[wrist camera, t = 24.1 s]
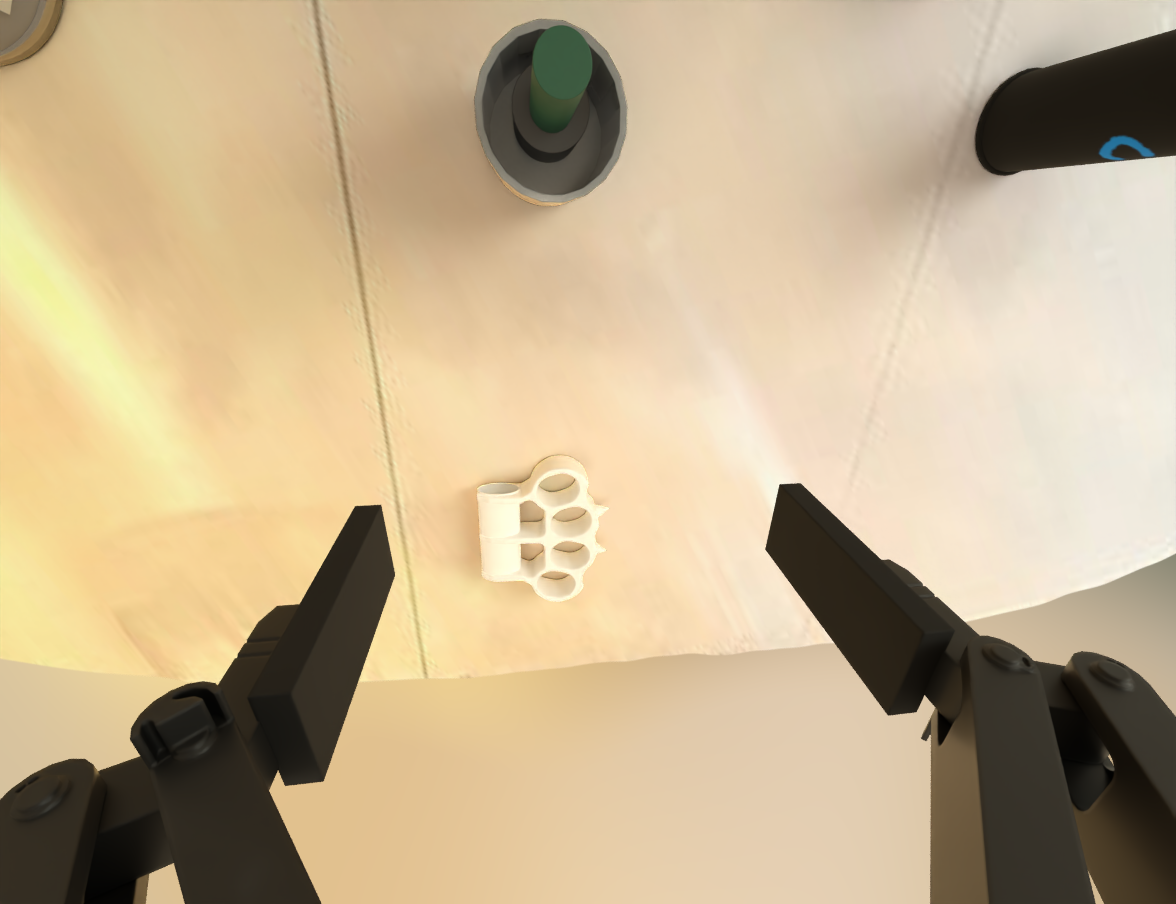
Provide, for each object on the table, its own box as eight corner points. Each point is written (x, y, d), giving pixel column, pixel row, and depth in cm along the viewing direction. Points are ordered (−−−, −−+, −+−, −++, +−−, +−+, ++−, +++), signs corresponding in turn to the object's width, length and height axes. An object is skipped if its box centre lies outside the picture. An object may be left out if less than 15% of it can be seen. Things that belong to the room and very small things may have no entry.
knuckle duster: (476, 455, 52) (610, 453, 54) (484, 586, 59) (601, 581, 61) (473, 470, 49) (616, 467, 51) (482, 606, 56) (605, 599, 58)
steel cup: (461, 151, 40) (445, 133, 31) (529, 31, 37) (531, -25, 29) (560, 231, 43) (569, 233, 35) (628, 126, 41) (657, 101, 32)
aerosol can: (980, 82, 42) (1314, -18, 25) (1069, 57, 42) (1469, -62, 25) (969, 186, 46) (1254, 164, 28) (1052, 162, 46) (1388, 126, 28)
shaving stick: (614, 129, 25) (618, -5, 23) (511, 126, 25) (504, -13, 22) (579, 164, 41) (580, 85, 38) (515, 162, 40) (511, 82, 38)
